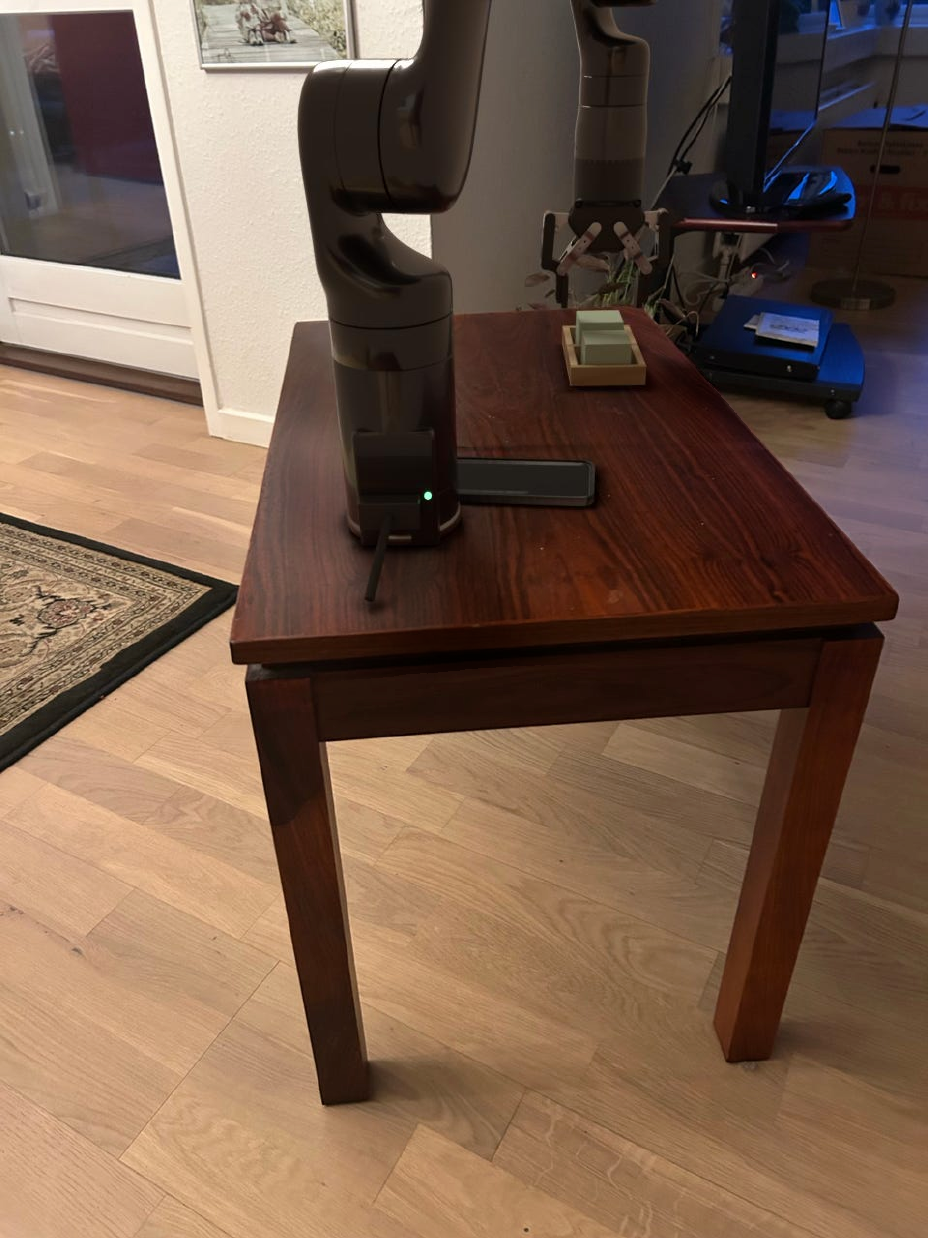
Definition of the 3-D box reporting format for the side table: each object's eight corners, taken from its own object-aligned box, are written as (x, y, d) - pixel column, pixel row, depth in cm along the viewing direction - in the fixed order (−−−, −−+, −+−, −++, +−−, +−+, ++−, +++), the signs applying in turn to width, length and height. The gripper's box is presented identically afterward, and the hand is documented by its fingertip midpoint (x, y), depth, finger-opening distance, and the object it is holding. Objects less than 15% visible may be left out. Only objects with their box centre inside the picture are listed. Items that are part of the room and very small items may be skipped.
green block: (621, 356, 110) (623, 322, 108) (578, 357, 110) (580, 322, 108) (616, 343, 115) (618, 309, 112) (575, 344, 115) (576, 310, 112)
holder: (644, 389, 103) (646, 366, 102) (570, 390, 104) (571, 367, 102) (627, 345, 116) (629, 324, 115) (561, 346, 117) (562, 325, 115)
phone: (433, 455, 88) (595, 459, 86) (433, 466, 89) (594, 471, 87) (419, 493, 82) (594, 498, 80) (419, 504, 82) (593, 510, 81)
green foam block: (629, 379, 104) (631, 343, 102) (583, 380, 105) (585, 344, 102) (623, 364, 109) (626, 329, 106) (580, 365, 109) (581, 330, 107)
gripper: (544, 157, 98) (540, 316, 107) (683, 155, 97) (667, 314, 106) (541, 148, 104) (538, 299, 113) (671, 146, 104) (658, 297, 112)
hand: (601, 306), depth 110 cm, fingers open, 8 cm apart
